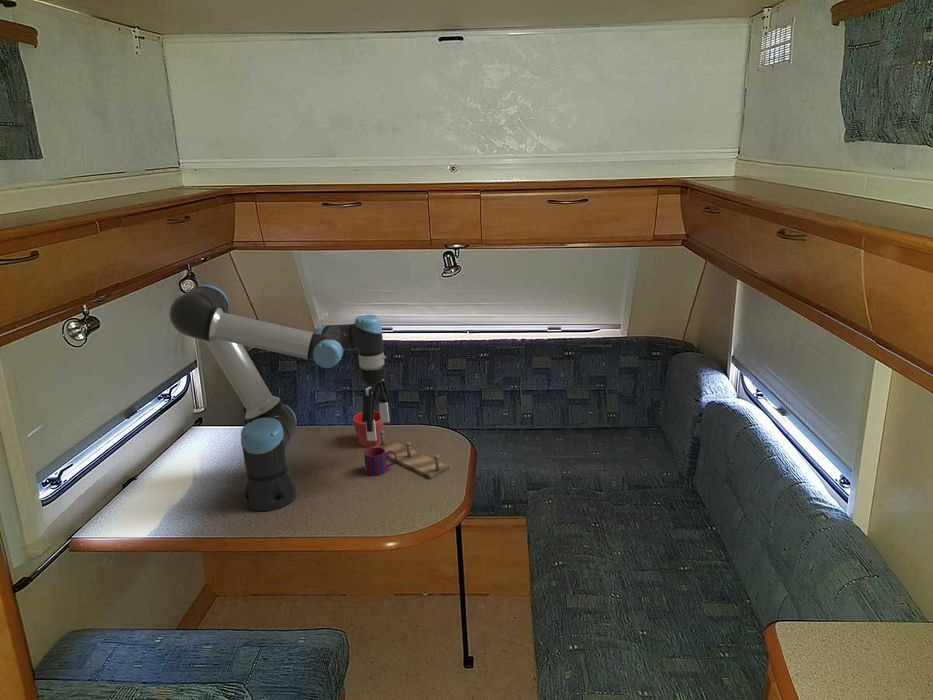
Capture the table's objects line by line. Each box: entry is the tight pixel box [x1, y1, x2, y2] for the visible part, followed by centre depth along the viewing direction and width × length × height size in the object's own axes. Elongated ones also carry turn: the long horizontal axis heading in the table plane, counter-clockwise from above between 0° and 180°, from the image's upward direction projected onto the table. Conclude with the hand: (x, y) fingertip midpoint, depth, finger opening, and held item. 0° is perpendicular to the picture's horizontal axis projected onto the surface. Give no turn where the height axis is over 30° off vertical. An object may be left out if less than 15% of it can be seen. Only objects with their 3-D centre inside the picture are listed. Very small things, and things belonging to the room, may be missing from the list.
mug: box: [363, 447, 397, 477], centre depth 214 cm, size 7×10×7 cm
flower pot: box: [352, 410, 385, 448], centre depth 234 cm, size 11×11×10 cm
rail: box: [371, 429, 450, 480], centre depth 220 cm, size 30×8×6 cm, turn 44°
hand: (378, 430), depth 211 cm, fingers open, 13 cm apart
